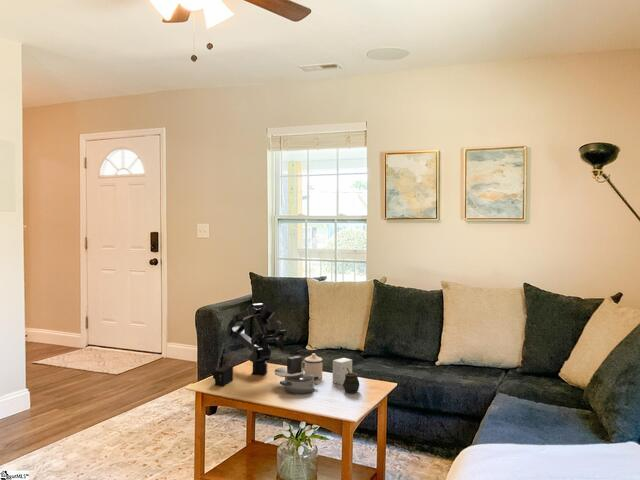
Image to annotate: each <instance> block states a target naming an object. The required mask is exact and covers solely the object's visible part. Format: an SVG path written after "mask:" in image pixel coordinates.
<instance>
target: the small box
mask: <svg viewBox="0 0 640 480" xmlns="http://www.w3.org/2000/svg"><path fill="white" fill-rule="evenodd" d="M347 368H348V370H349V372H350V373H353V359H350V358H347V357H342V358H337V359H334V360H332V383H334V384H337V385H341V386H342V385H343V383H344V381H345V374H346V373H348V370H347Z"/></svg>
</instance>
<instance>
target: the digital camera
mask: <svg viewBox="0 0 640 480" xmlns="http://www.w3.org/2000/svg"><path fill="white" fill-rule="evenodd" d="M212 378H213V380H214V386H215V387H225V386H226V385H229V384H230V383H231V382H233V380H234V366H233V365H226V364H224V365H223V366H221V367H219V368H218V369H214V370H213V373H212Z"/></svg>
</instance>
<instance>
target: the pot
mask: <svg viewBox="0 0 640 480" xmlns="http://www.w3.org/2000/svg"><path fill="white" fill-rule="evenodd" d="M318 377H319V376H316V375H306V374H304V373H303V375H301V376H298V377H284V379H283V380H280V381H279V385H281V386H284V392H285V393H287V394H290V395H296V396H297V395H298V396H299V395H303V396H304V395H308V394H312V393H313V392H314V391H315V381H317V380H316V379H318Z"/></svg>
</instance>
